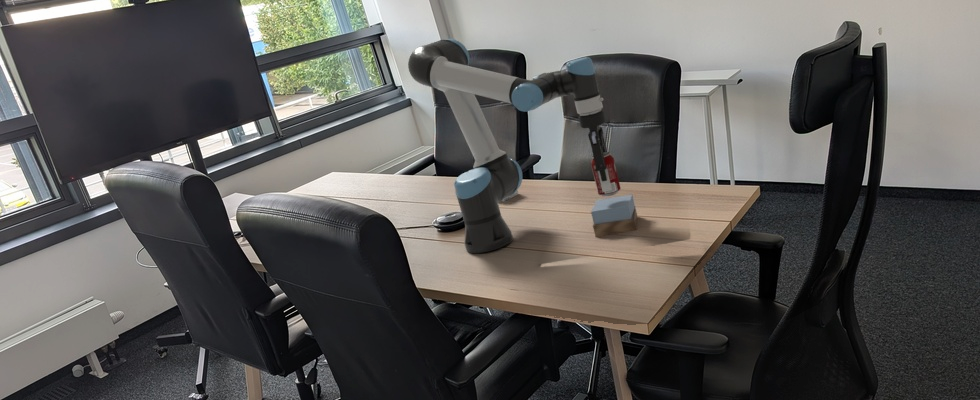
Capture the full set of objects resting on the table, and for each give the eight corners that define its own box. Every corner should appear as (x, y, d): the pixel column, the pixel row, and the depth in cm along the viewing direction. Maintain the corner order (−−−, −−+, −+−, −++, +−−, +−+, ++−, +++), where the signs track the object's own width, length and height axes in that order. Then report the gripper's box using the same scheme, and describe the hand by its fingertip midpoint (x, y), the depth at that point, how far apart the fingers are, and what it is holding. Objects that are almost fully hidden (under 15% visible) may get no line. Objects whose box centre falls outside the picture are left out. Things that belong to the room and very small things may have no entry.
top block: (594, 224, 219) (591, 211, 218) (599, 212, 229) (596, 200, 228) (631, 218, 215) (628, 205, 214) (635, 206, 225) (632, 194, 224)
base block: (595, 238, 219) (592, 225, 218) (599, 225, 230) (596, 213, 230) (636, 231, 216) (633, 218, 215) (637, 218, 227) (635, 205, 226)
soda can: (620, 194, 217) (611, 155, 214) (597, 199, 218) (588, 160, 215) (621, 188, 223) (612, 149, 220) (599, 192, 225) (590, 154, 222)
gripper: (600, 115, 205) (618, 194, 210) (606, 103, 223) (622, 176, 228) (574, 121, 207) (592, 199, 212) (581, 108, 225) (598, 180, 230)
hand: (608, 187), depth 220 cm, fingers closed on soda can, 7 cm apart
